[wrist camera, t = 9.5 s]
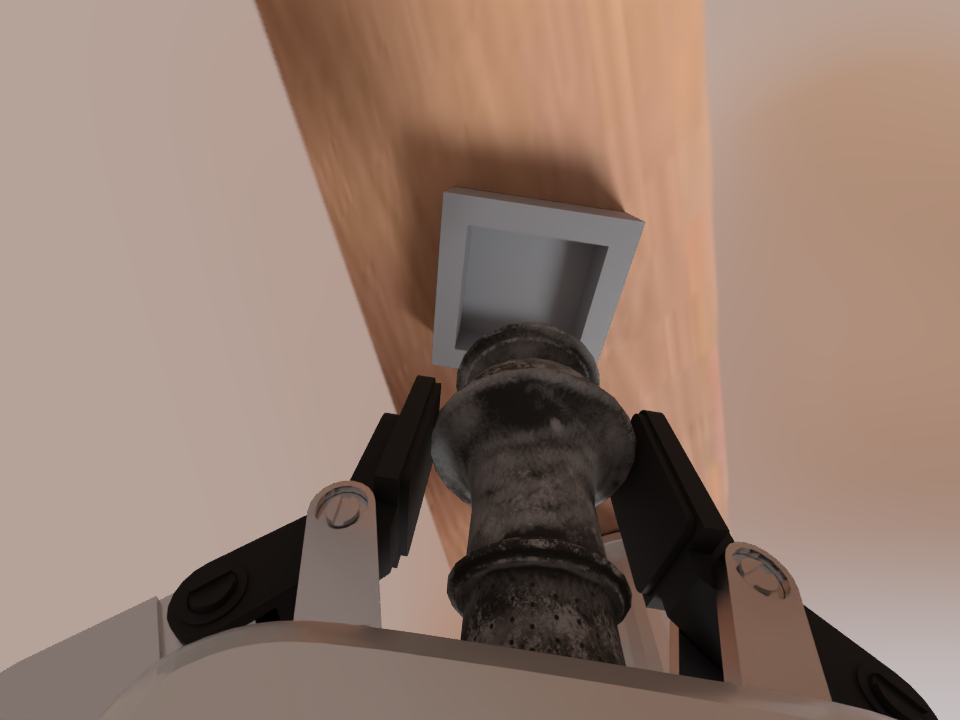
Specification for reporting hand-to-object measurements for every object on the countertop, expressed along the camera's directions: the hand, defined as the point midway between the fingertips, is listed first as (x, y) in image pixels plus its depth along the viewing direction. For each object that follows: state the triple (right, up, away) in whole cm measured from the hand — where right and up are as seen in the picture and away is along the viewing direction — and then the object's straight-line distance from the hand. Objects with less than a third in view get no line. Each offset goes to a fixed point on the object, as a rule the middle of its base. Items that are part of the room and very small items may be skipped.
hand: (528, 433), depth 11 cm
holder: (+2, +8, +14) cm, 16 cm away
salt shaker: (0, +1, +2) cm, 3 cm away
